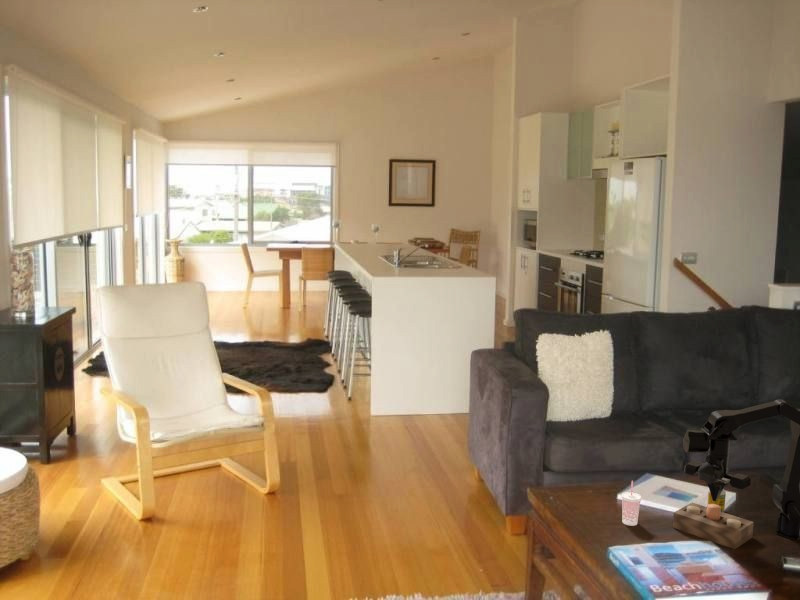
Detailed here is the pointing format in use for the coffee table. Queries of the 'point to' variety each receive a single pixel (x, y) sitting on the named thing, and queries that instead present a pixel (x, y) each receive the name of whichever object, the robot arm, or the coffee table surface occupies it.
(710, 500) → the supplement bottle
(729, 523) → the maple plug near
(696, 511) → the maple plug far
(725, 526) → the wooden compartment tray
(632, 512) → the beverage cup
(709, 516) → the terracotta plug
